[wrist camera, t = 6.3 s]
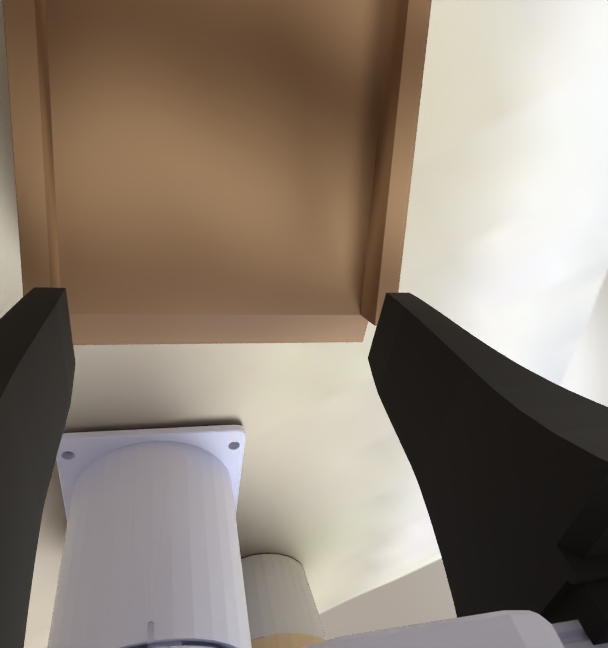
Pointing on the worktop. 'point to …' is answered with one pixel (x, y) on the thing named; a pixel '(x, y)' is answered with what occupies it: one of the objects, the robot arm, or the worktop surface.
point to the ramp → (215, 163)
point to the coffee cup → (279, 603)
